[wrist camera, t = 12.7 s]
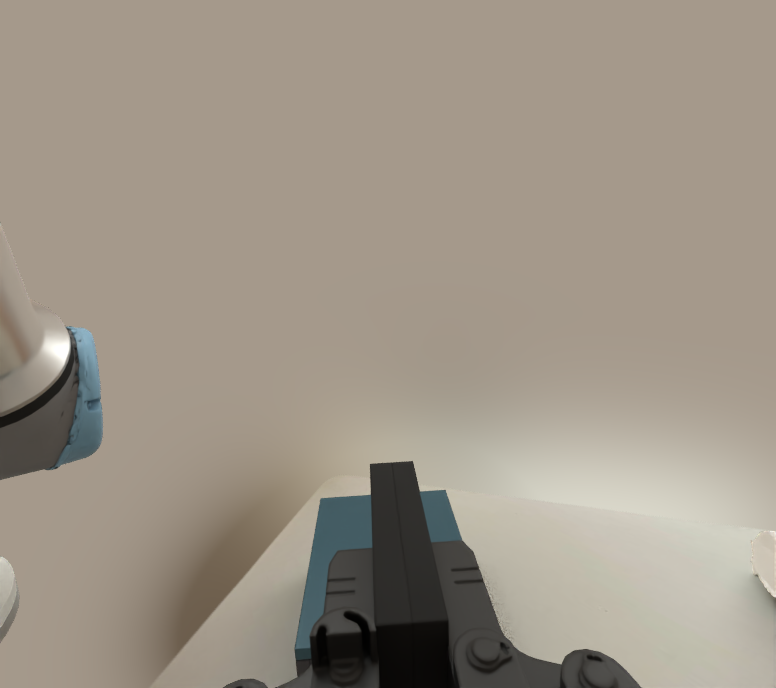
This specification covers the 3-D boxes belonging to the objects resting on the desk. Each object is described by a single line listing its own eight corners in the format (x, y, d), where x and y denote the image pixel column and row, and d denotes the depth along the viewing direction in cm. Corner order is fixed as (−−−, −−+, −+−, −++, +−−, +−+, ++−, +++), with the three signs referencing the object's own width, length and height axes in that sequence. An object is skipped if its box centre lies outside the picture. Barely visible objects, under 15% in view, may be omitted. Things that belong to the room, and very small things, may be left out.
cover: (321, 505, 40) (320, 498, 40) (445, 497, 41) (445, 489, 40) (295, 660, 25) (294, 649, 25) (493, 644, 26) (493, 633, 25)
